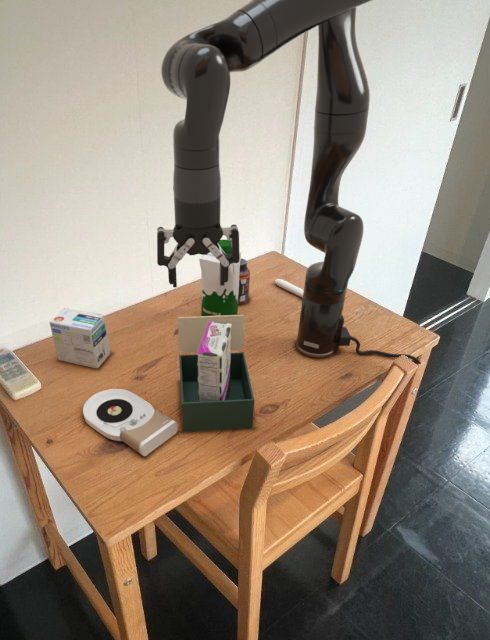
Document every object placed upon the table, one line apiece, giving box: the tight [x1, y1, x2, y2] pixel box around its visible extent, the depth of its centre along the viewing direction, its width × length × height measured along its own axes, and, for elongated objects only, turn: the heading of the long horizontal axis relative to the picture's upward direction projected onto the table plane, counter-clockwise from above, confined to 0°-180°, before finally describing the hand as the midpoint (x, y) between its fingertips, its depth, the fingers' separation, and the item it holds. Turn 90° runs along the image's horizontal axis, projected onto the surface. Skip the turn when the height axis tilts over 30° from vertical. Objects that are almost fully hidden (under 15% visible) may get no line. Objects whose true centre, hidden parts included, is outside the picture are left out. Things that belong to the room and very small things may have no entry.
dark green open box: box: [178, 351, 255, 433], centre depth 106 cm, size 14×16×7 cm
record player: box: [82, 388, 179, 457], centre depth 103 cm, size 12×3×20 cm
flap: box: [177, 314, 246, 354], centre depth 107 cm, size 14×8×1 cm
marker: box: [274, 278, 304, 299], centre depth 142 cm, size 18×2×2 cm, turn 40°
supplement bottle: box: [238, 258, 251, 305], centre depth 137 cm, size 6×6×11 cm
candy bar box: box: [196, 322, 232, 402], centre depth 102 cm, size 11×5×16 cm, turn 168°
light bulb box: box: [48, 307, 111, 369], centre depth 117 cm, size 11×7×11 cm, turn 71°
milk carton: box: [198, 239, 242, 316], centre depth 127 cm, size 9×9×20 cm
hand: (198, 284), depth 93 cm, fingers open, 8 cm apart
